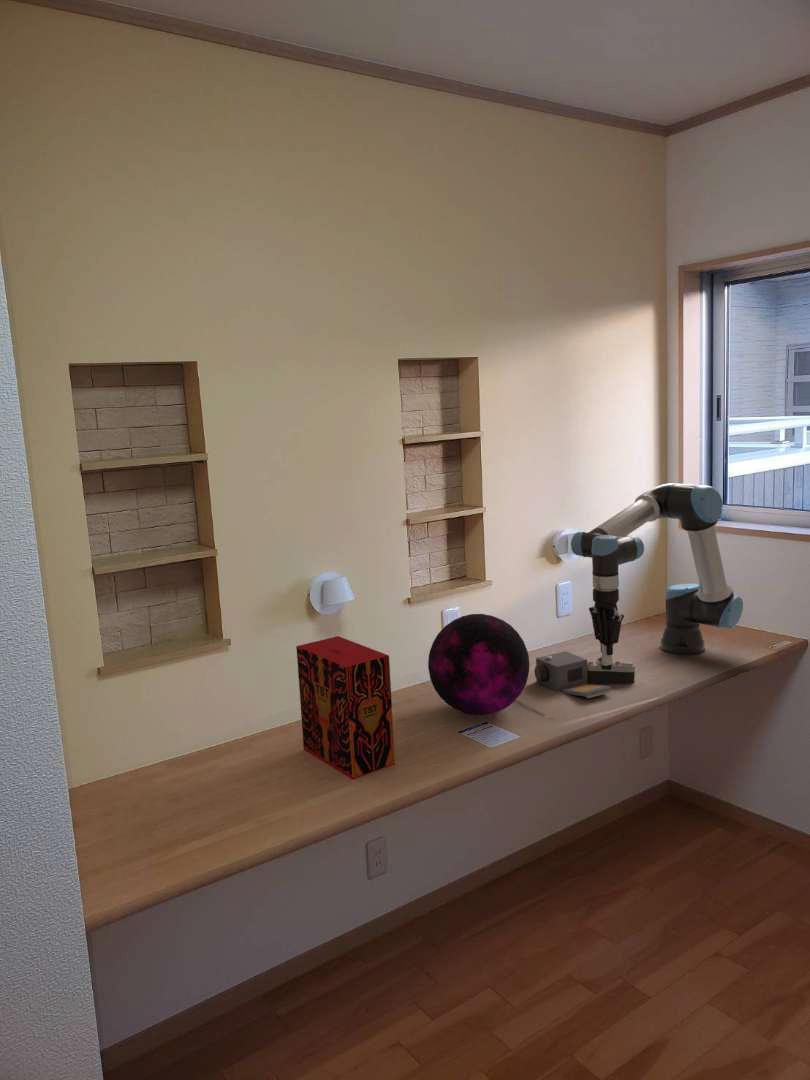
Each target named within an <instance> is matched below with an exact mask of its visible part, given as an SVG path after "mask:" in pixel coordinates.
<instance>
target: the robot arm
mask: <svg viewBox="0 0 810 1080" xmlns="http://www.w3.org/2000/svg"><path fill="white" fill-rule="evenodd" d="M722 508H723V499H722V496H721V494H720V492H719V490H718V489H716V488H715V487H713V486H710V485H705V484H689V483H688V484H687V483H674V482H673V483H672V482H670V483H665V484H664V483H663V484H661V485H658V486H655V487H653V488H651V489H649V490H647V491H645V492H643V493H641V494H640V495H639V496H637V497H636V498H635V500H634V502H633V503H632V504H630V505H628V506H627V507H626V508H624V509H623V510H621V511H620V512H618V513H617V514H615V515H614V516H611V517H610V518H609V519H607V520H606V521H604V522H603V523H601V524H599V525H598V526H596V527H595V528H593V529H592V530H590V531H588V532H586V531H580V532H579V531H578V532H576V533H574V535H573V536H572V537H571V541H570V547H571V552H572V554H574V555H575V556H579V557H582V558H591V561H592V562H591V564H592V588H593V589H592V601H593V602H594V605H592V607H589V608H588V610H589V613H590V615H591V616H590V617H591V620H592V627H593V632H594V637H595V638H594V639H595V640H598V641H599V643H600V653H601V657H602V665H604V666H607V665H611V664H612V660H613V654H614V645H616V644H619V638H620V633H621V627H622V621H623V619H624V617H625V616H624V614H620V612H619V611H618V610H619V609H618V606H617V603H618V602H619V601H620V595H619V594H620V589H619V586H620V578H619V576H620V575H619V566H621V565H624V564H627V563H631V562H634V561H636V560H638V559H641V557H642V556H643V555H644V552H645V545H644V542H643V540H642V539H641V538H640V537H639V536H637V535H630V534H631V533H633V532H635V531H636V530H638V529H639V528H641V527H642V526H643V525H645V524H647V523H652V522H655V521H656V520H658V519H674V520H679V522H680V527H681V528H682V530H684V531H685V532H687V534H688V539H689V544H690V548H691V554H692V559H693V561H694V562H693V563H694V567H695V571H696V575H697V580H698V582H699V584H697V583H681V584H680V583H679V584H674V585H671V586H669V587H667V589H666V591H665V628H664V631H663V633H662V637H661V639H660V648H661V649H662V651H665V652H668V653H672V654H679V655H690V654H692V655H693V654H698V653H701V652H703V651H704V650H705V648H706V647H705V644H706V643H705V639H704V638H703V634H702V631H701V628H700V627H701V626H700V625H706V626H710V627H715V628H719V629H733V628H734V627H735V626H737V625H738V623H739V621H740V619H741V616H742V614H743V610H744V609H743V608H744V601H743V598H742V597H741V596H739V595H734V591H733V586H731V584H729V583H727V581H726V576H725V575H726V574H725V571H724V566H723V565H724V564H723V562H722V561H723V560H722V556H721V553H720V552H721V551H720V546H719V542H718V539H717V537H718V536H717V532H716V529H715V527H716V525H717V524H718V522H719V520H720V518H721V517H722V512H723V509H722Z"/></svg>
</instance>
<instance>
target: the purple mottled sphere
mask: <svg viewBox="0 0 810 1080" xmlns="http://www.w3.org/2000/svg"><path fill="white" fill-rule="evenodd" d="M428 652H429V654H428V663H427V669H428V675H429V679H430V681H431V683H432V687H433V689H434V690H435V692H436V693H437V695H438V696H439V698H440V699H442V701H443V702H444V703H446V705H448V706H449V707H450V708H452V709H454V710H455V711H457V712H460V713H463V714H465V715H471V716H488V715H494V714H497V713H498V712H499V713H500V712H501V711H503V710H505V709H507V708H508V707H509V706H511V705H512V704H513V703H515V701H516V700H518V697H520V695H522V692H523V690H524V689H525V687H526V685H527V683H528V678H529V674H530V657H529V653H528V652H529V651H528V649H527V646H526V644H525V641H524V639H523V638H522V637H521V635H520V633H519V632H518V631H517V630H516V629H515V628H514V627H513V626H512V625H511V624H509V623H508V622H506V621H505V620H504V619H501V618H498V617H496V616H493V615H489V614H485V613H471V614H465V615H462V616H460V617H457V618H456V619H454V620H452V621H451V622H449V623H448V624H446V625H445V626H444V627H443V628H442V629H441V630H440V631H439V632H438V634H437V635H436V637H435V638H434V640H433V642H432V645H431V647H430V649H429V651H428Z"/></svg>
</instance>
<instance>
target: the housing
mask: <svg viewBox="0 0 810 1080" xmlns="http://www.w3.org/2000/svg"><path fill="white" fill-rule="evenodd" d="M587 663H588V659H586V658H584V657H581V656H579V655H576V654H575V653H574V654H573V653H571V652H569V651H560V652H557V653H552V654H547V655H543V656H540V657H536V658H535V665H536V666H535V668H534V676H535V679H536V683H538V684H541V685H543V686H545V687H547V688H550V689H551V690H553V691H556V692H562V691H561V689H565V688H569V687H573V686H577V685H581V684H585V683H587Z"/></svg>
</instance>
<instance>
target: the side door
mask: <svg viewBox="0 0 810 1080" xmlns="http://www.w3.org/2000/svg"><path fill="white" fill-rule="evenodd" d="M612 690H613V689H612V686H611V685H610V686H609V685H603V684H587V683H585V684H581V685H577V686H573V687H569V688H565V689H561V691H560V692H561V693H564V694H567V695H573V696H580V697H585V698H586V699H591V698H594V697H598V696H601V695H606V694H609V693H610V691H612Z"/></svg>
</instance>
